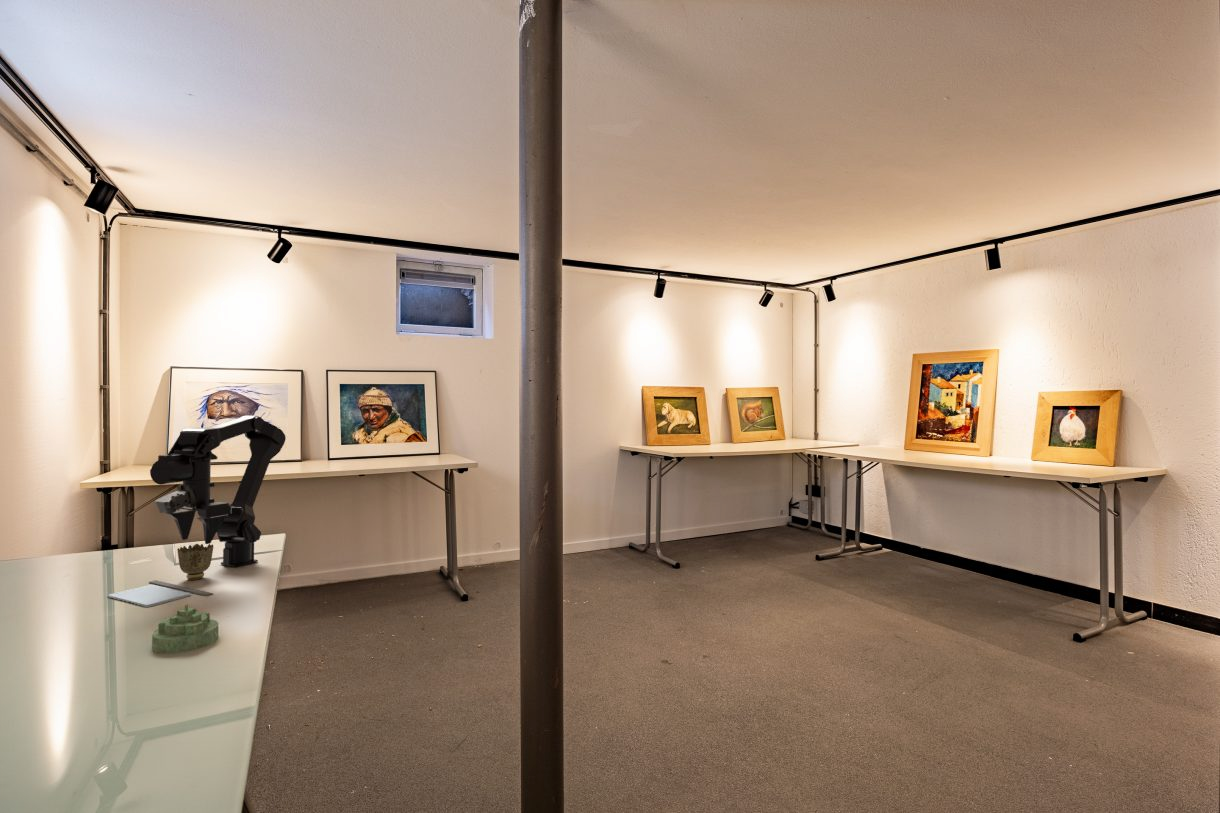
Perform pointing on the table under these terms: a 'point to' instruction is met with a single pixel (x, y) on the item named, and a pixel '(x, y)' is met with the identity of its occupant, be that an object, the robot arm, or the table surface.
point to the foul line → (182, 588)
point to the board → (149, 595)
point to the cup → (195, 560)
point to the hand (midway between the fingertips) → (196, 541)
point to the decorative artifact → (184, 631)
